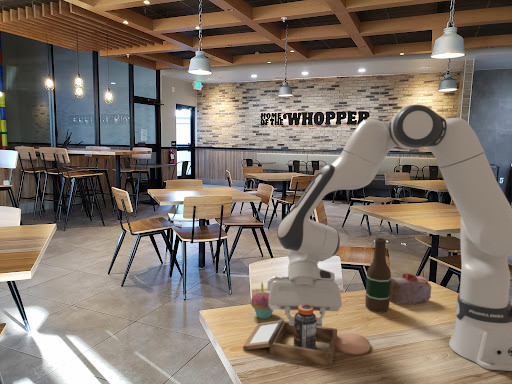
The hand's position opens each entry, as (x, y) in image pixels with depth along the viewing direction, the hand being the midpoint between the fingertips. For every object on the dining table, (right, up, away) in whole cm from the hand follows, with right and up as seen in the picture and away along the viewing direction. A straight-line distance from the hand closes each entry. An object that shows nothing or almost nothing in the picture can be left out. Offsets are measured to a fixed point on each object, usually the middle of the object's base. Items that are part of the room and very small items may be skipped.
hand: (305, 325), depth 102 cm
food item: (+41, -3, +34) cm, 53 cm away
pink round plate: (+13, -6, +3) cm, 15 cm away
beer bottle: (+28, -4, +27) cm, 39 cm away
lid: (-11, -6, +5) cm, 13 cm away
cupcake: (-11, -4, +20) cm, 23 cm away
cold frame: (0, -6, +1) cm, 6 cm away
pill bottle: (0, -6, +1) cm, 7 cm away
